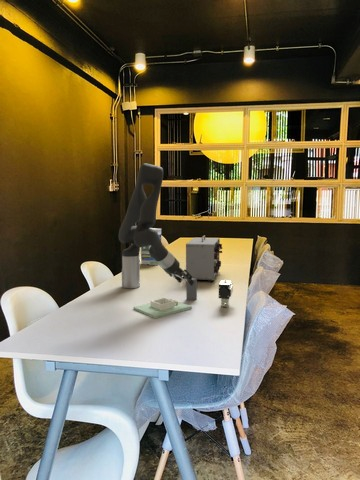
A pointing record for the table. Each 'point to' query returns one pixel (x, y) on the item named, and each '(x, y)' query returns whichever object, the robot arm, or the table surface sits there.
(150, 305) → the board
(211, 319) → the table surface
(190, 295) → the grey rectangular block
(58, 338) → the table surface
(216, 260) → the vintage electronic device
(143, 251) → the string lights box
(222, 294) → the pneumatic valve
